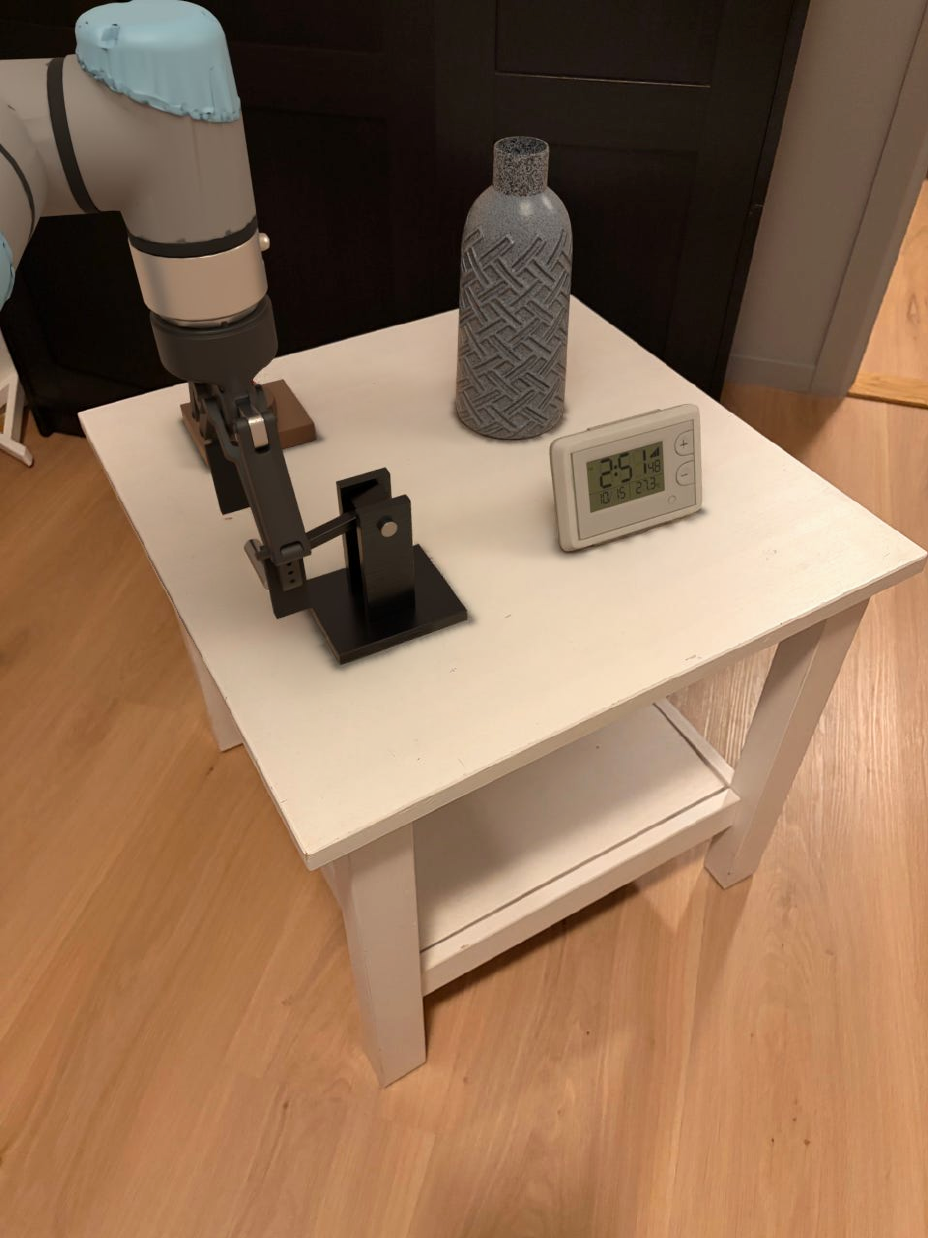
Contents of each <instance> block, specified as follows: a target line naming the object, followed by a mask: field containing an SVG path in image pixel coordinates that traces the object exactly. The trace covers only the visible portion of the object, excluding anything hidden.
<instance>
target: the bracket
mask: <svg viewBox="0 0 928 1238" xmlns="http://www.w3.org/2000/svg"><path fill="white" fill-rule="evenodd" d="M380 483H381V484H382V486H383V487H384V488H385V490H386V491H387V493H388V494H389V495H390V497H391V499H388V500H384V501H381V502H378V503H374V504H371V505H368V506H365V507H361V508H358V509H355V516H356V526H357V527H356V528H354V529H352V530H350V531H348V532H346V533H344V534H342V535H341V538H342V548H343V555H344V556H343V557H344V565H345V567H342V568H340V569H336V570H333V571H330V572H327V573H324V574H321V575H317V576H314V577H312V578H309V579H308V578H307V583H308V589H309V595H310V601H311V607H312V608H310V609H308V610H309V612H310V613H311V616H312V617H313V619H314V620H315V622H316V624H317V626H318V627H319V630H320V631H321V633H322V635H323V636H324V638H325V640H326V642H327V644H328V645H329V647H330V649H331V651H332V653H333V655H334V656H335V658H336V660H337V661H338V664H339V665H340V666H341V665H344V664H347V663H350V662H351V661H355V660H358V659H361V658H364V657H366V656H369V655H373V654H375V653H377V652H380V651H382V650H386V649H388V648H391V647H394V646H397V645H400V644H403V643H405V642H407V641H411V640H413V639H416V638H419V637H422V636H425V635H427V634H430V633H433V632H436V631H438V630H441V629H444V628H447V627H450V626H453V625H455V624H458V623H460V622H461V623H462V622H463V621H466V620H468V609H467V607H466V606H465V605H464V603H462V601H461V600H460V598H459V596H458V595H457V594H456V593H455V591H454V590H453V589H452V587H451V585H449V583H448V581H447V580H446V578H444V576H443V574H442V573H441V572H440V571H439V569H438V567H436V565H435V564H434V563H433V561H432V560H431V558H430V557H429V556H428V554H427V553H426V552H425V550H424V548H423V547H422V546H421V545H420V543H416V544H413V542H414V541H413V521H412V520H413V519H412V517H413V516H412V501H411V499H410V498H409V496H408V495H407V494H406V493H404V494H401V495H398V496H394V497H393V494H392V479H391V472H390V471H389V470H388V468H387V467H386V466H385V467H381V468H377V469H374V470H371V471H368V472H364V473H360V474H356V475H353V476H350V477H346V478H343V479H340V480H336V481H335V487H336V496H337V505H338V512H339V516H340V515H342V514H344V513H346V512H348V511H350V510H353V509H354V507H353V505H352V502H351V500H350V498H351V497H354V496H356V495H358V494H360V493H362V492H364V491H366V490H368V489H370V488H372V487H374V486H376V485H378V484H380Z"/></svg>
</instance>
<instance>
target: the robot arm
mask: <svg viewBox="0 0 928 1238" xmlns="http://www.w3.org/2000/svg"><path fill="white" fill-rule="evenodd" d="M223 29H224V28H223V27H222V25H221V23H220V21H219V20H218V18H216V16H214V14H213V13H211V12H210V11H209V10H208V9H206V8H205V7H203V6H202V5H201V6H200V5H199V4H196V3H193V2H190V1H184V0H130V1H127V2H126V1H125V2H112V3H106V4H102V5H98V6H95V7H93V8H91V9H89V10H87V11H85V12H83V13H82V14H81V15H80V16H79V17H78V19H77V20H76V22H75V27H74V33H75V39H76V48H75V53H73V54H67V55H66V56H63V57H52V58H51V57H49V58H25V59H23V58H22V59H21V58H19V59H0V312H1V311H2V309H3V306H4V304H5V303H6V301H8V299H10V297H11V295H12V293H13V287H14V284H15V278H16V272H17V269H18V267H19V264H20V262H21V259H22V257H23V255H24V252H25V250H26V249H27V246H28V244H29V242H30V240H31V238H32V236H33V234H34V232H35V230H36V227H37V225H38V222H39V220H40V218H42V217H55V216H56V217H57V216H71V215H72V216H73V215H87V214H98V213H103V212H109V211H112V212H113V211H117V212H120V214H121V216H122V219H123V221H124V223H125V228H126V233H127V243H128V245H129V249H130V253H131V256H132V257H131V258H132V260H133V265H134V269H135V271H136V275H137V279H138V283H139V287H140V291H141V294H142V298H143V302H144V304H145V306H147V308H148V309H149V310H150V311H149V321H150V324H151V328H152V329H151V330H152V332H153V336H154V340H155V343H156V348H157V351H158V355H159V359H160V362H161V364H162V366H163V367H164V368H165V369H166V371H168V372H169V373H170V374H171V375H173V376H175V377H176V378H178V379H181V380H183V381H185V382H186V381H187V385H188V395H189V402H191V409H192V412H191V415H192V418H194V419H195V421H196V422H200V427H199V430H200V431H199V433H200V436H201V437H202V438H203V439H204V441H206V440H209V442H210V443H209V444H205V445H204V447H205V451H206V455H207V459H208V463H209V467H210V469H209V471H210V475H211V480H212V482H213V487H214V492H215V495H216V500H217V504H218V508H219V511H220V513H221V515H222V516H225V515H229V514H233V513H236V512H239V511H243V510H246V509H250V510H251V514H252V516H253V519H254V523H255V526H256V528H257V531H258V534H259V537H260V541H261V544H262V546H259V547H260V551H259V552H256V553H254V554H255V557H256V559H257V561H261V560H262V561H263V566H264V571H265V575H266V580H267V585H268V589H269V590H268V595H269V599H270V602H271V608H272V613H273V616H274V617H275V620H281V619H283V618H285V617H289V616H292V615H295V614H297V613H301V612H304V611H307V610H309V609H310V608H312V607H311V601H310V595H309V589H308V583H307V580H308V577H307V574H306V566H305V561H304V558H307V557H309V556H312V553H313V552H312V550H311V545H310V543H309V542H308V539H307V535H306V532H307V531H306V529H305V525H304V521H303V518H302V515H301V511H300V510H301V509H300V508H299V504H298V499H297V497H296V493H295V489H294V486H293V482H292V479H291V477H290V476H291V475H290V471H289V469H288V464H287V462H286V459H285V455H284V451H283V449H282V447H281V442H280V437H279V433H278V428H277V418H276V415H274V414H273V411H272V410H267V411H266V408H267V400H266V397H265V394H264V391H263V388H262V386H261V383H257V385H254V383H253V381H254V380H255V378H256V376H257V375H258V374H259V373H261V371H262V370H263V369H265V368H267V367H268V365H270V364H271V362H272V361H273V360H274V359H275V357H276V355H277V352H278V348H279V341H278V336H277V335H278V334H277V330H276V325H275V324H276V323H275V318H274V317H275V316H274V311H273V305H272V300H271V298H270V297H269V295H268V294H267V291H268V287H269V286H268V280H267V274H266V268H265V263H264V262H265V261H264V259H263V256H262V252H264V251H266V250H268V249H269V248H270V238H269V236H268V235H267V234H266V233H264V232H260V231H259V223H258V216H257V209H256V208H257V207H256V202H255V195H254V189H253V181H252V175H251V168H250V167H251V166H250V162H249V154H248V148H247V147H248V146H247V141H246V133H245V127H244V120H243V112H242V106H241V105H242V104H241V99H240V97H239V96H238V90H237V86H236V82H235V77H234V76H235V75H234V72H233V67H232V63H231V56H230V53H229V47H228V43H227V42H228V41H227V37H226V34H225V31H224V30H223Z"/></svg>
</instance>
